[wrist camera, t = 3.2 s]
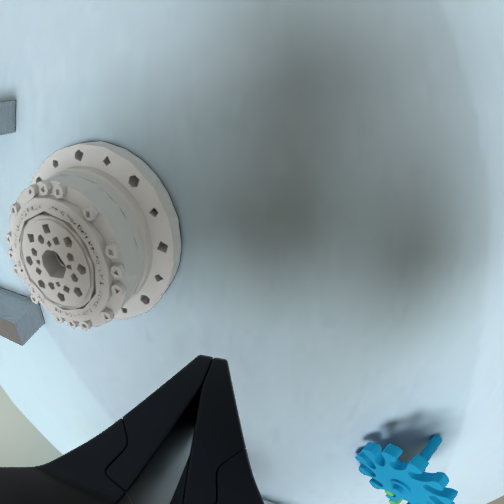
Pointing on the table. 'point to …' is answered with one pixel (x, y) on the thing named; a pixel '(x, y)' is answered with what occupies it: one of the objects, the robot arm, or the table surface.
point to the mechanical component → (94, 235)
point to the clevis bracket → (6, 302)
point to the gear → (405, 474)
